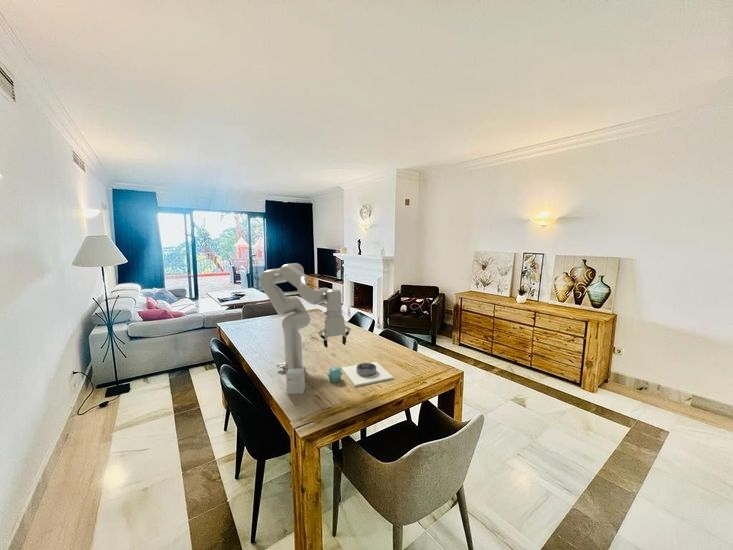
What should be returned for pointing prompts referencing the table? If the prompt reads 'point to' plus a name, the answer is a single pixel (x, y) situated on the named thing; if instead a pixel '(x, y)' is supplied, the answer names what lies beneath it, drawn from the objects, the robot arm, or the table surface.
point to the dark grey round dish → (366, 372)
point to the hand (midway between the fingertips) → (335, 345)
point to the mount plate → (359, 380)
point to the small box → (295, 381)
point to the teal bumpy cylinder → (334, 374)
